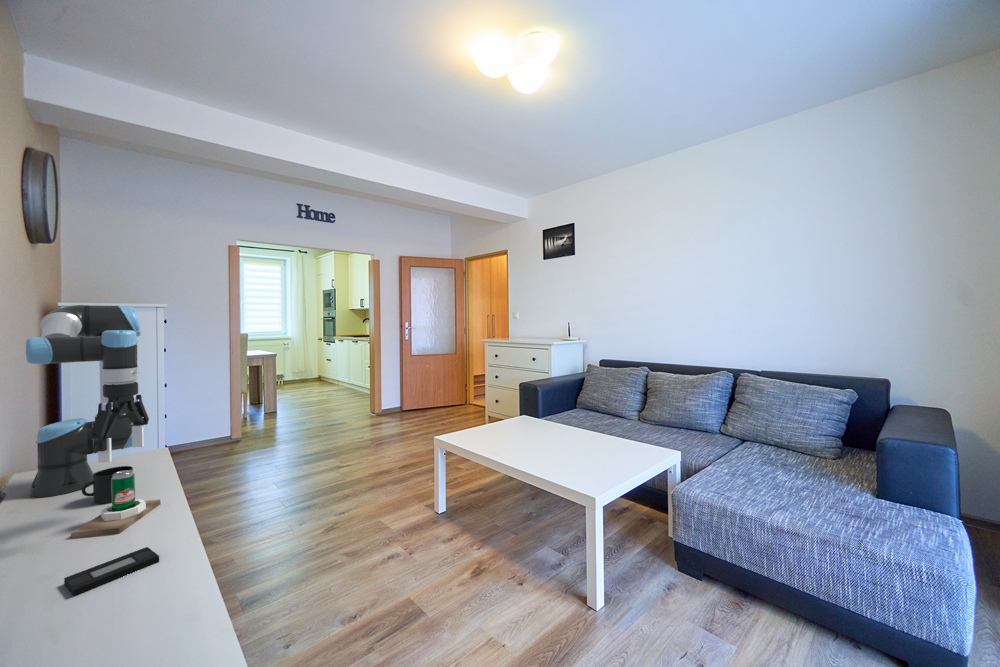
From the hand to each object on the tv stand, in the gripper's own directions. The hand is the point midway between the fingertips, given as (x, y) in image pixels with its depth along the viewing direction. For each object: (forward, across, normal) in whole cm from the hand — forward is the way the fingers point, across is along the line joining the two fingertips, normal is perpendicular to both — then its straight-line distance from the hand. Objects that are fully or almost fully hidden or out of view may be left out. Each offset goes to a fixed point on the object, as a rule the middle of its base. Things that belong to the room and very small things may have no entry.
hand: (122, 453), depth 116 cm
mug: (+20, +16, +14) cm, 29 cm away
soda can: (+18, 0, 0) cm, 18 cm away
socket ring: (+18, 0, 0) cm, 18 cm away
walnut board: (+19, -1, 0) cm, 19 cm away
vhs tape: (+20, -30, -16) cm, 40 cm away
